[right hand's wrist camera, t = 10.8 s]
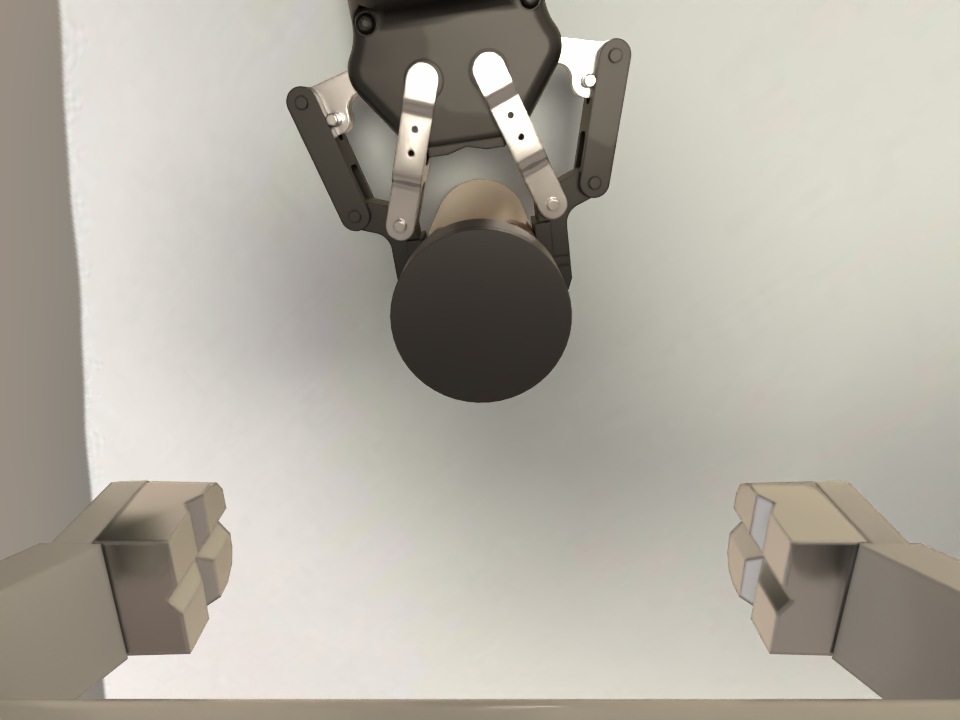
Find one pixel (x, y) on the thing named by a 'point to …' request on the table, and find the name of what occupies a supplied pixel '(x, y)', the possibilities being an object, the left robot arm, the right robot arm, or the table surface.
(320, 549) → the table surface
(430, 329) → the lid
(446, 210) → the jar
